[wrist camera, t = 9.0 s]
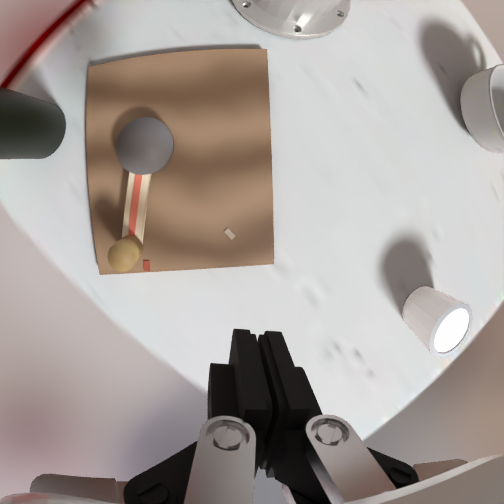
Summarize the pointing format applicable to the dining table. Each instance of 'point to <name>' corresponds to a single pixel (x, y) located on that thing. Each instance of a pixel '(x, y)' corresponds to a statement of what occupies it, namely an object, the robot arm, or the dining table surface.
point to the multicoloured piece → (138, 183)
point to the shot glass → (437, 320)
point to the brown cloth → (186, 158)
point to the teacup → (485, 108)
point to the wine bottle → (29, 126)
